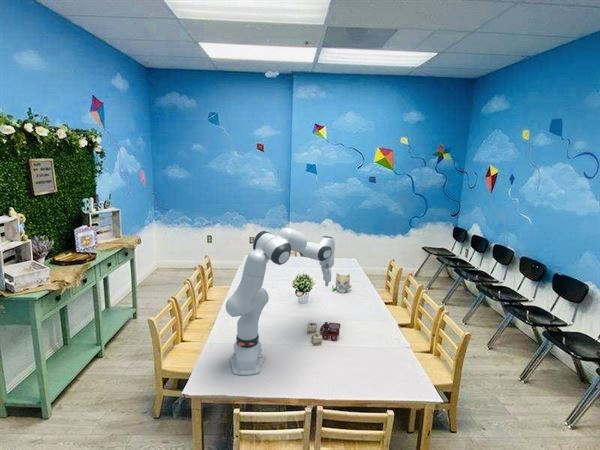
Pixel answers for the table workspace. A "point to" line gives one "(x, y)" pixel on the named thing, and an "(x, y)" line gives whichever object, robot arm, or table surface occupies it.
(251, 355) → the robot arm
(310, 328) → the maple cube seven
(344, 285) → the kitten
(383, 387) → the table surface
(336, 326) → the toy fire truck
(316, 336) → the maple cube one
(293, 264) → the table surface
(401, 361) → the table surface
